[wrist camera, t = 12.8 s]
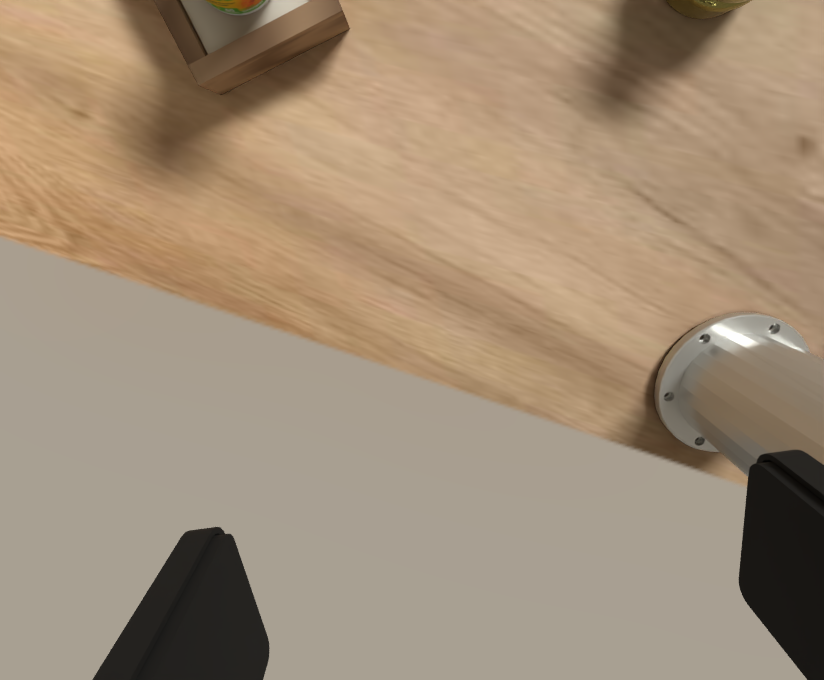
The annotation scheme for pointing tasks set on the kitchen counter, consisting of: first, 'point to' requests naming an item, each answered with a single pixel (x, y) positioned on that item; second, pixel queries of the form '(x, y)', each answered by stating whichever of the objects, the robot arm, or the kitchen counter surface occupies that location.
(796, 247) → the kitchen counter surface
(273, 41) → the picture frame
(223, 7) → the supplement bottle
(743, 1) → the green chess piece
